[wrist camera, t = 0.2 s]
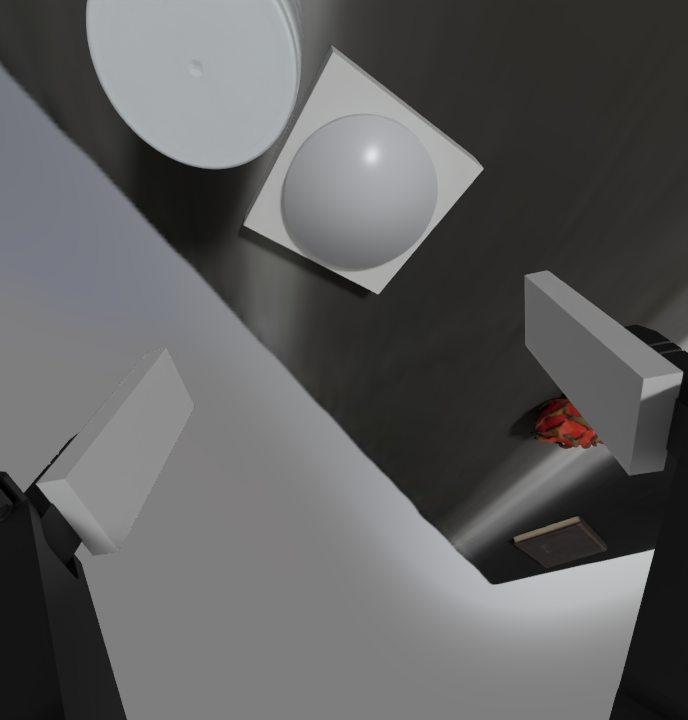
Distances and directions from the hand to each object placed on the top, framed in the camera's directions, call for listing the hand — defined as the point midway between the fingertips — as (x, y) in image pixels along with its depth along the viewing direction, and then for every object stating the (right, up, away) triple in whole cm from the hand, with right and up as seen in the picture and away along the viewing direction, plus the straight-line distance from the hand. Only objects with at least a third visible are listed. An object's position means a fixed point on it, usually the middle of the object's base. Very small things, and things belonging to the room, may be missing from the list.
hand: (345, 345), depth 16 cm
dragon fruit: (+33, -7, +49) cm, 60 cm away
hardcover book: (+53, -44, +89) cm, 113 cm away
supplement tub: (-8, +23, +14) cm, 28 cm away
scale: (+1, +15, +23) cm, 28 cm away
